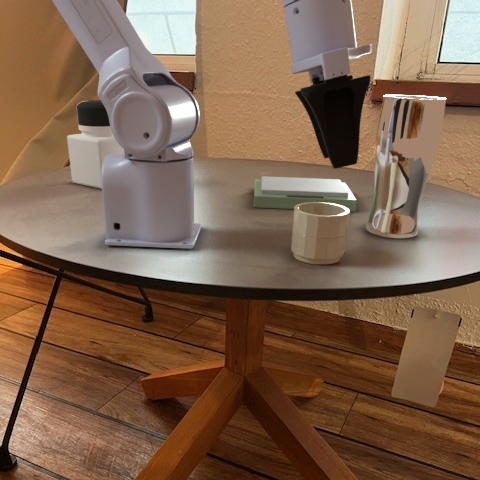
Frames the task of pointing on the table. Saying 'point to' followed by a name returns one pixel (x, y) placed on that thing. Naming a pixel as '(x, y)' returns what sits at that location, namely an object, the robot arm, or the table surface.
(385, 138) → the beer glass
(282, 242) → the table surface
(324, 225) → the cup
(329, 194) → the scale
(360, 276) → the table surface
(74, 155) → the medicine bottle
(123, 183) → the robot arm
